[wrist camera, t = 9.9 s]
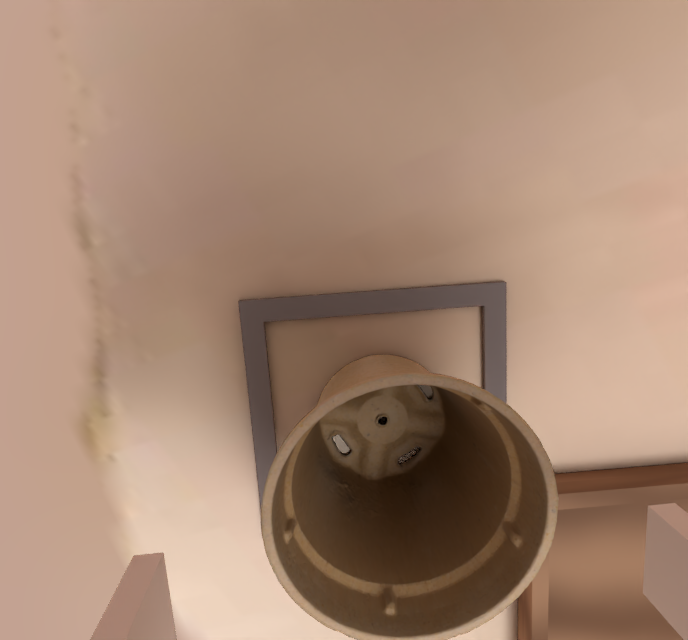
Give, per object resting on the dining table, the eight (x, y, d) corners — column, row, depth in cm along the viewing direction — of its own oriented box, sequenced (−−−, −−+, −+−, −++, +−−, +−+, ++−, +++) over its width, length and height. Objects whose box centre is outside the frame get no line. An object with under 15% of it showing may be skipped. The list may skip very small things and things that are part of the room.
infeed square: (239, 300, 23) (238, 301, 23) (503, 281, 24) (506, 282, 23) (265, 539, 26) (264, 542, 26) (504, 518, 26) (506, 521, 26)
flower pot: (244, 450, 25) (205, 572, 16) (345, 280, 23) (360, 318, 15) (410, 535, 26) (453, 689, 18) (515, 380, 25) (616, 466, 16)
